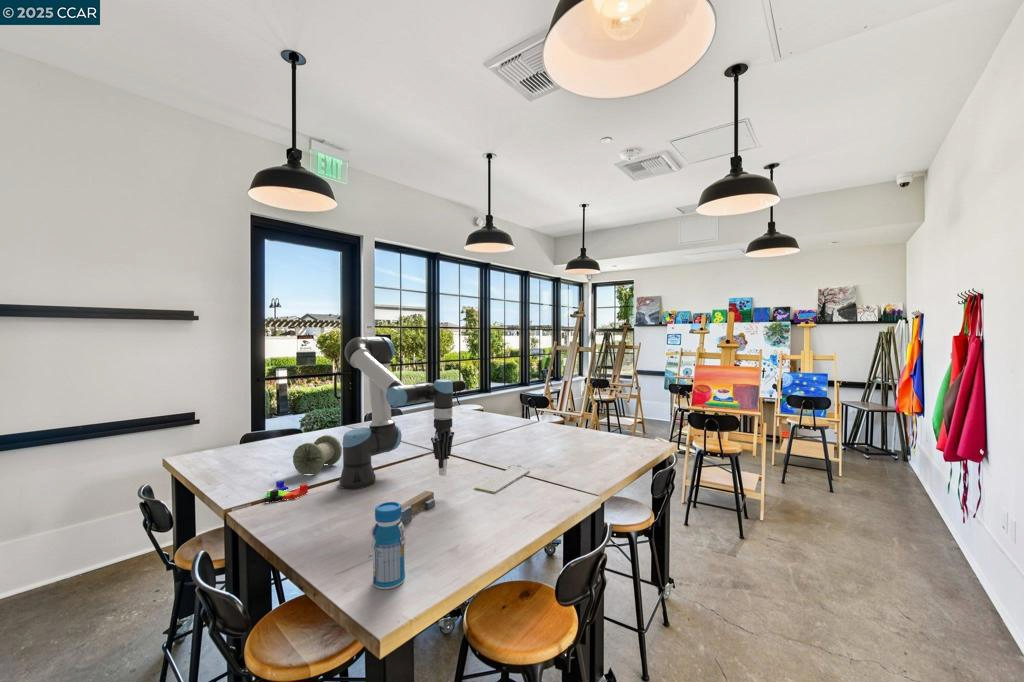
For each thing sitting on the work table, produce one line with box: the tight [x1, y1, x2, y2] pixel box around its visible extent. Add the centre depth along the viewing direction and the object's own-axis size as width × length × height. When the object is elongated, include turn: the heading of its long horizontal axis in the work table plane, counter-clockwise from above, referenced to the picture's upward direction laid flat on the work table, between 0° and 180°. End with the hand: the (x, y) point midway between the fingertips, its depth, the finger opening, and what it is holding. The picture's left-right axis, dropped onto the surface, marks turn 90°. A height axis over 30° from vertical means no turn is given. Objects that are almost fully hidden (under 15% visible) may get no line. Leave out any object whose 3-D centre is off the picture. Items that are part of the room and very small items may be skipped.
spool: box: [292, 434, 343, 475], centre depth 206 cm, size 16×15×15 cm
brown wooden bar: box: [400, 490, 435, 516], centre depth 158 cm, size 4×18×4 cm, turn 155°
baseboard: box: [473, 464, 531, 494], centre depth 190 cm, size 31×3×12 cm
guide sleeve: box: [424, 499, 436, 511], centre depth 161 cm, size 8×4×2 cm, turn 63°
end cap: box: [400, 506, 413, 525], centre depth 148 cm, size 8×8×4 cm
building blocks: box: [264, 480, 309, 504], centre depth 172 cm, size 15×13×4 cm
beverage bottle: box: [371, 501, 406, 590], centre depth 112 cm, size 8×8×20 cm
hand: (442, 474), depth 174 cm, fingers closed
